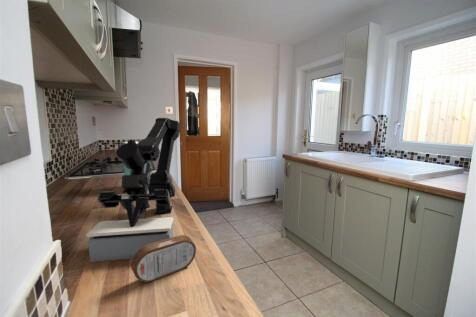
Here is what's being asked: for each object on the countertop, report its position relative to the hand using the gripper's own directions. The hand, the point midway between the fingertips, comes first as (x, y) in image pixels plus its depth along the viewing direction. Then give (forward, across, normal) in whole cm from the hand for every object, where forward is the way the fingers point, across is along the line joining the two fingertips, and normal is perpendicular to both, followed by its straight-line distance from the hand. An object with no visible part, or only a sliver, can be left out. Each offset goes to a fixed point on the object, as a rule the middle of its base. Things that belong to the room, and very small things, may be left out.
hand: (131, 226), depth 63 cm
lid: (0, 0, +2) cm, 2 cm away
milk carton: (-38, -13, +48) cm, 63 cm away
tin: (+13, +10, -2) cm, 17 cm away
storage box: (+4, 0, +7) cm, 8 cm away
